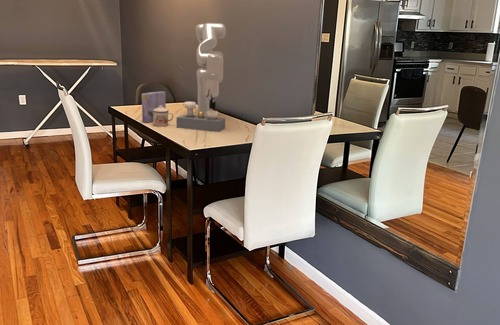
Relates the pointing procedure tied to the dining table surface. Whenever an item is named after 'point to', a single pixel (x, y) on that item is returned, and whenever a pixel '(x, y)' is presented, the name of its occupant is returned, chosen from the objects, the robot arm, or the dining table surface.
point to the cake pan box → (151, 104)
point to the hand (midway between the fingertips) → (212, 108)
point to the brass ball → (200, 114)
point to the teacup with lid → (161, 116)
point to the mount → (200, 123)
